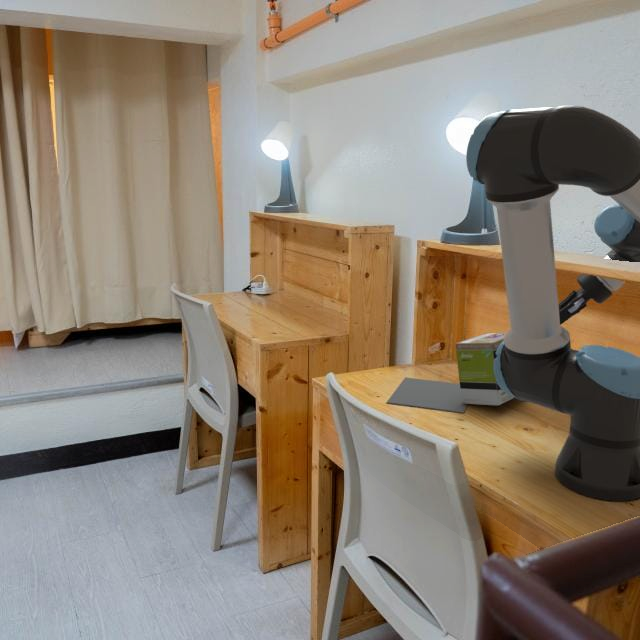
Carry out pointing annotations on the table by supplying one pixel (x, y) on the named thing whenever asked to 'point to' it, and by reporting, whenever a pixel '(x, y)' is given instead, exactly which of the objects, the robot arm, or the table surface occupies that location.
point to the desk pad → (429, 395)
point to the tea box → (480, 370)
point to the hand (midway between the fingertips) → (518, 347)
